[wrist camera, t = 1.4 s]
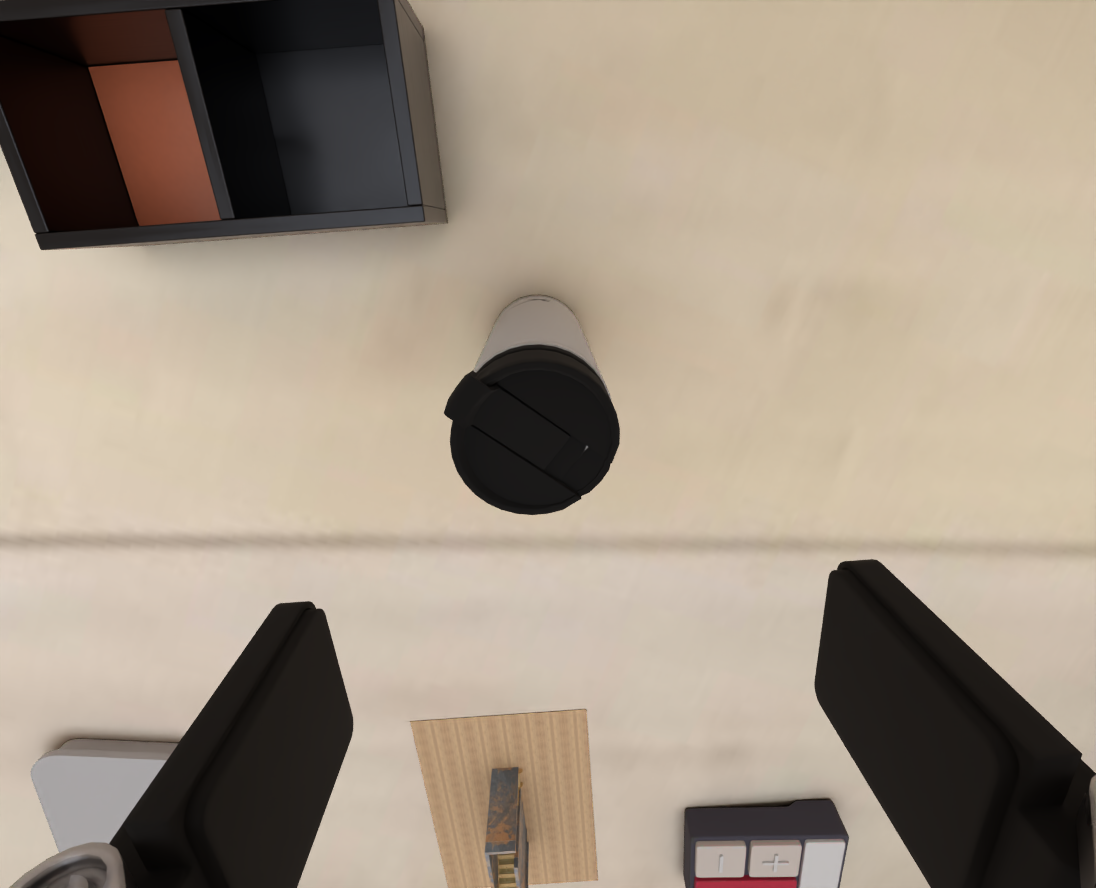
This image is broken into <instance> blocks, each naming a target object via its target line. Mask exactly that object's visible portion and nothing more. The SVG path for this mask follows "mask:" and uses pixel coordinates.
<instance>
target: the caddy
mask: <svg viewBox="0 0 1096 888" xmlns="http://www.w3.org/2000/svg"><path fill="white" fill-rule="evenodd" d="M0 146H1V148H2V151H3V153H4V156H5V159H6V161H7V164H8V166H9V169H10V171H11V174H12V177H13V179H14V182H15V184H16V187H17V189H18V192H19V195H20V197H21V200H22V202H23V205H24V208H25V210H26V213H27V215H28V218H29V220H30V223H31V226H32V228H33V231H34V232H35V233H37V234H35V236H36V239H37V241H38V244H39V247H40V249H41V250H57V249H81V248H104V247H128V246H147V245H160V244H174V243H188V242H201V241H215V240H228V239H242V238H256V237H269V236H283V235H296V234H310V233H323V232H337V231H351V230H364V229H378V228H391V227H405V226H419V225H432V224H446V223H448V220H447V212H446V204H445V196H444V188H443V180H442V172H441V164H440V156H439V148H438V140H437V132H436V124H435V116H434V108H433V101H432V93H431V85H430V77H429V69H428V61H427V53H426V45H425V37H424V29H423V26H422V25H421V23H420V21H419V20H418V18H417V16H416V14H415V13H414V11H413V9H412V7H411V6H410V4H409V2H408V1H407V0H0Z"/></svg>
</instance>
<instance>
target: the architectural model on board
mask: <svg viewBox="0 0 1096 888" xmlns="http://www.w3.org/2000/svg"><path fill="white" fill-rule="evenodd" d="M411 727H412V731H413V736H414V740H415V744H416V749H417V753H418V757H419V762H420V766H421V770H422V775H423V779H424V784H425V788H426V792H427V797H428V801H429V805H430V810H431V814H432V818H433V823H434V827H435V831H436V836H437V840H438V845H439V849H440V853H441V858H442V862H443V866H444V871H445V875H446V879H447V884H448V888H487V887H491V888H528V885H532V884H548V883H563V882H578V881H593V880H598V876H597V861H596V847H595V832H594V817H593V802H592V788H591V773H590V758H589V743H588V729H587V714H586V709H584V710H570V711H556V712H542V713H527V714H513V715H499V716H484V717H470V718H456V719H442V720H427V721H413V722H411Z"/></svg>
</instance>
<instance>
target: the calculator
mask: <svg viewBox="0 0 1096 888" xmlns="http://www.w3.org/2000/svg"><path fill="white" fill-rule="evenodd" d="M848 840H849V836H848V834H847V831H846V829H845V827H844V825H843V823H842V820H841V818H840V816H839V814H838V812H837V810H836V807H835V805H834V803H833V802H832V801H831V800H805V801H795V802H794V803H792V804H791V805H790V806H788V807H740V808H689V809H686V810H685V825H684V873H683V874H684V880H685V886H686V888H839V887H840V882H841V876H842V871H843V866H844V861H845V855H846V850H847V845H848Z"/></svg>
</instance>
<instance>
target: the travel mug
mask: <svg viewBox="0 0 1096 888" xmlns="http://www.w3.org/2000/svg"><path fill="white" fill-rule="evenodd" d="M444 414H445V415H446V416H447V417H448V418H450V419H451V420H453V422H452V427H451V436H450V446H451V453H452V458H453V461H454V464H455V467H456V469H457V472H458V473H459V475H460V477H461V478H462V480H463V481H464V483H465V484H466V485H467V486H468V487H469V488H470V489H471V491H472V492H473V493H474V494H475V495H477V496H478V497H479V498H481V499H482V500H484V501H485V502H487V503H488V504H490V505H492V506H495V507H497V508H499V509H501V510H505V511H509V512H512V513H516V514H528V515H537V514H548V513H552V512H556V511H560V510H563V509H565V508H567V507H568V506H570V505H571V504H573V503H575V502H576V501H578V500H580V499H581V496H582V495H584V494H587V493H589V492H590V491H591V490H592V489H593V488H595V487H596V486H597V485H598V484H599V483H600V482H601V480H602V479H603V477H604V476H605V475H606V473H607V472H608V470H609V468H610V463H612V461H613V459H614V456H615V454H616V451H617V449H618V446H619V439H620V428H619V423H618V418H617V414H616V411H615V409H614V406H613V404H612V402H611V397H610V393H609V391H608V389H607V387H606V384H605V382H604V380H603V377H602V375H601V373H600V370H599V368H598V366H597V363H596V361H595V359H594V357H593V354H592V352H591V350H590V347H589V345H588V343H587V340H586V338H585V336H584V333H583V331H582V329H581V327H580V324H579V322H578V320H577V318H576V316H575V315H574V313H573V312H572V311H571V310H570V309H569V308H568V307H567V306H566V305H565V304H564V303H562V302H560V301H559V300H557V299H555V298H552V297H549V296H544V295H529V296H525V297H521V298H519V299H517V300H515V301H513V302H512V303H511V304H509V305H508V306H507V307H506V308H505V309H504V310H503V311H502V312H501V313H500V315H499V317H498V318H497V320H496V322H495V324H494V326H493V328H492V331H491V333H490V335H489V337H488V339H487V341H486V344H485V346H484V348H483V350H482V352H481V354H480V357H479V359H478V361H477V363H476V365H475V367H474V370H473V371H471V372H470V373H468V374H467V375H466V376H464V378H463V379H462V380H461V382H460V383H459V384H458V385H457V387H456V388H455V390H454V391H453V393H452V394H451V396H450V397H449V399H448V402H447V405H446V408H445V411H444Z"/></svg>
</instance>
